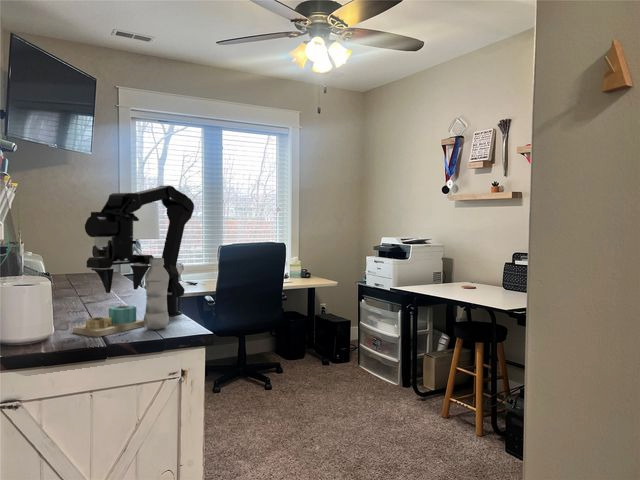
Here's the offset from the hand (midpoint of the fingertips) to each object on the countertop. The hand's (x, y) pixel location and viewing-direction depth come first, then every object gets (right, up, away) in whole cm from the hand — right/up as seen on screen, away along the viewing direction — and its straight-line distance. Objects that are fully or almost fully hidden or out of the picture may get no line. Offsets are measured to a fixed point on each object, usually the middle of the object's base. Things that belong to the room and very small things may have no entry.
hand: (122, 291), depth 131 cm
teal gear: (0, -9, 0) cm, 9 cm away
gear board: (-2, -10, -3) cm, 11 cm away
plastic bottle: (+11, -11, -2) cm, 15 cm away
